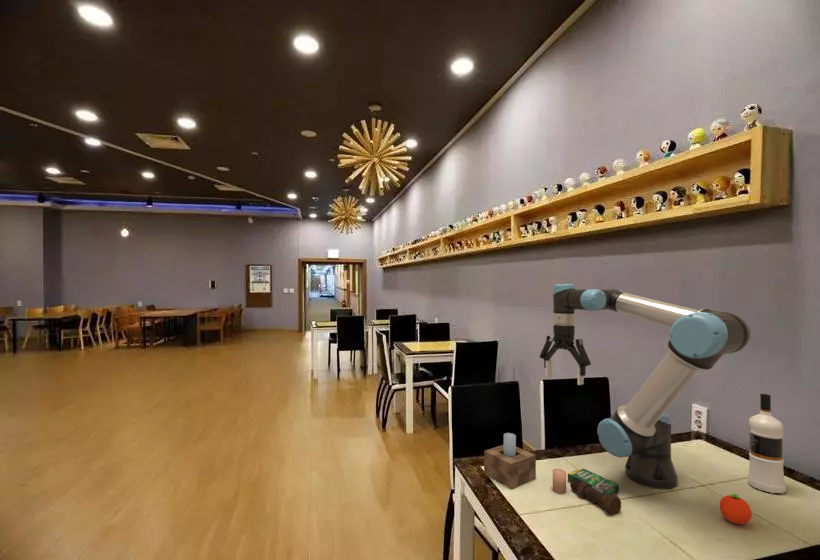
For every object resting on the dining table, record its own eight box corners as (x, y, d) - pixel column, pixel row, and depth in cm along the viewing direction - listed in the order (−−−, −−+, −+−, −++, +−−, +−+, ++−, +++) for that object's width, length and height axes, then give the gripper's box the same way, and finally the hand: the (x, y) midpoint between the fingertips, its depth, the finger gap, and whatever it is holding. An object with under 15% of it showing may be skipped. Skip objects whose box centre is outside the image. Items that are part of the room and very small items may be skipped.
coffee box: (603, 490, 119) (566, 472, 130) (603, 500, 119) (566, 481, 130) (619, 483, 123) (582, 466, 134) (619, 492, 123) (582, 475, 134)
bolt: (575, 495, 125) (617, 519, 112) (564, 490, 123) (606, 513, 110) (581, 477, 127) (623, 498, 113) (571, 472, 125) (613, 493, 111)
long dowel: (518, 477, 133) (518, 435, 133) (510, 480, 131) (510, 438, 131) (508, 472, 136) (509, 432, 136) (500, 475, 134) (501, 434, 134)
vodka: (781, 498, 120) (779, 399, 121) (742, 485, 128) (741, 392, 129) (790, 490, 125) (789, 395, 126) (753, 478, 133) (752, 388, 134)
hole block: (535, 479, 132) (535, 455, 132) (511, 489, 125) (511, 463, 125) (508, 465, 142) (508, 443, 142) (484, 474, 135) (484, 450, 135)
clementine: (719, 510, 114) (719, 485, 114) (751, 519, 109) (751, 493, 109) (718, 523, 108) (718, 496, 108) (752, 533, 103) (752, 505, 103)
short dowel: (568, 491, 124) (568, 472, 124) (561, 495, 122) (561, 475, 122) (557, 486, 127) (557, 467, 127) (549, 489, 125) (549, 470, 125)
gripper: (530, 322, 158) (530, 375, 157) (589, 327, 137) (589, 389, 137) (542, 321, 162) (542, 373, 162) (601, 326, 142) (601, 386, 141)
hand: (564, 380), depth 149 cm, fingers open, 13 cm apart
